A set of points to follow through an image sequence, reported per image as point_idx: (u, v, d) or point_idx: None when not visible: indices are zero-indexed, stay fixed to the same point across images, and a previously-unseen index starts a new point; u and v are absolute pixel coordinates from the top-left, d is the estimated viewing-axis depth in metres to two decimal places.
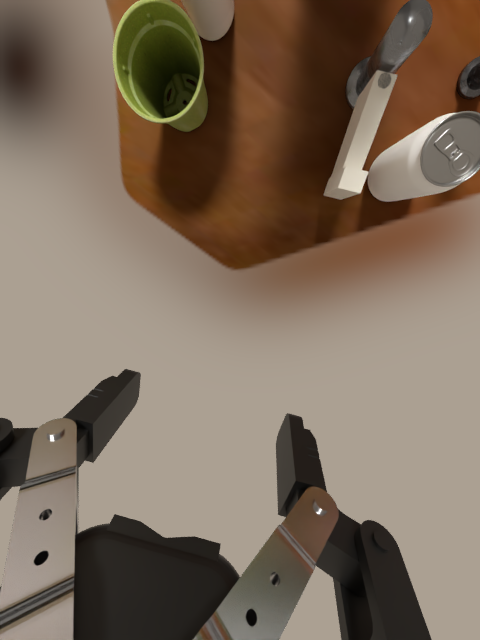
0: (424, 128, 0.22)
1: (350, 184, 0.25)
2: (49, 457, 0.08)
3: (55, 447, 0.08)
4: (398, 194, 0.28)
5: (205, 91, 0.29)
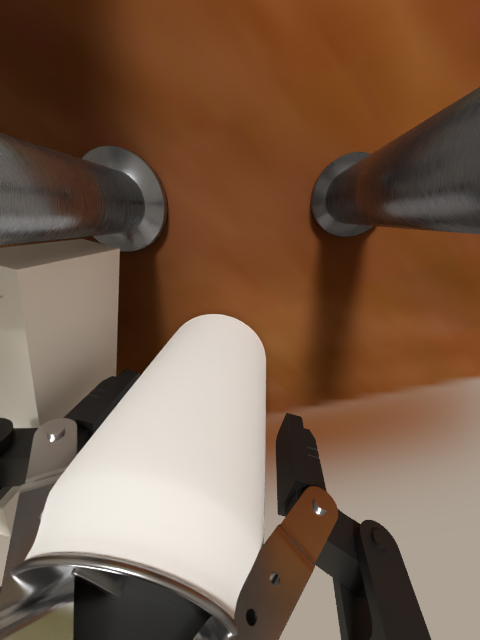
0: (52, 491, 0.06)
1: None
2: (49, 457, 0.08)
3: (55, 447, 0.08)
4: None
5: None
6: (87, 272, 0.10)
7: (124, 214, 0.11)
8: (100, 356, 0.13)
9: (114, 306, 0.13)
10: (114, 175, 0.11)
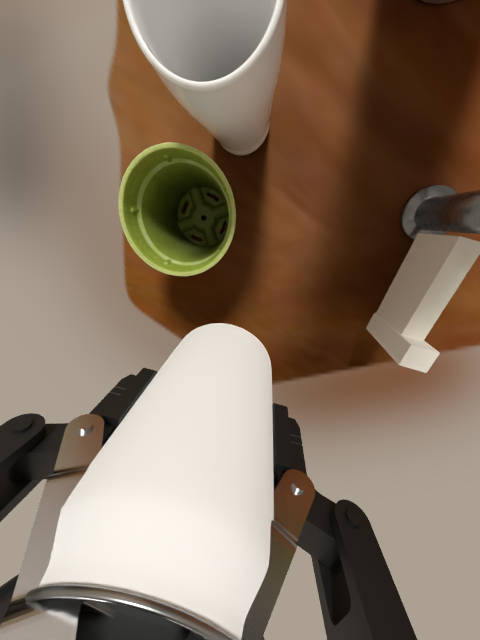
0: (60, 512, 0.06)
1: (415, 363, 0.20)
2: (82, 450, 0.08)
3: (83, 441, 0.08)
4: None
5: None
6: None
7: None
8: None
9: None
10: None
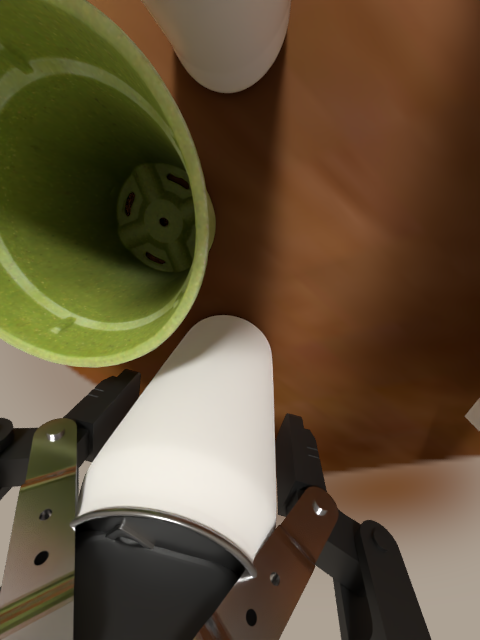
0: (94, 464, 0.07)
1: None
2: (49, 457, 0.08)
3: (55, 446, 0.08)
4: None
5: (210, 220, 0.12)
6: None
7: None
8: None
9: None
10: None
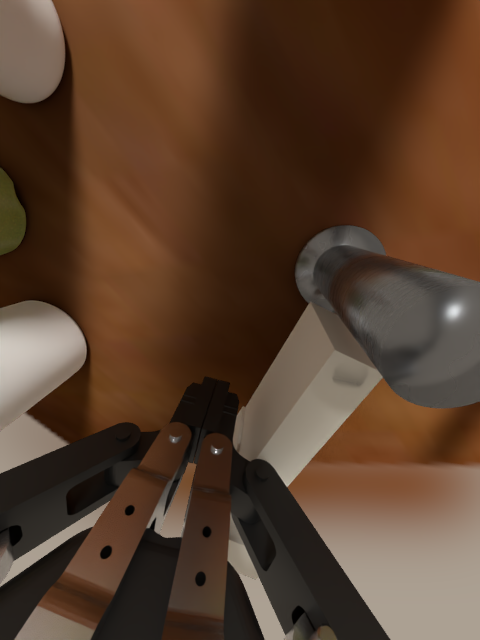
0: None
1: (233, 563, 0.10)
2: (181, 458, 0.09)
3: (168, 448, 0.09)
4: None
5: None
6: None
7: None
8: None
9: None
10: None
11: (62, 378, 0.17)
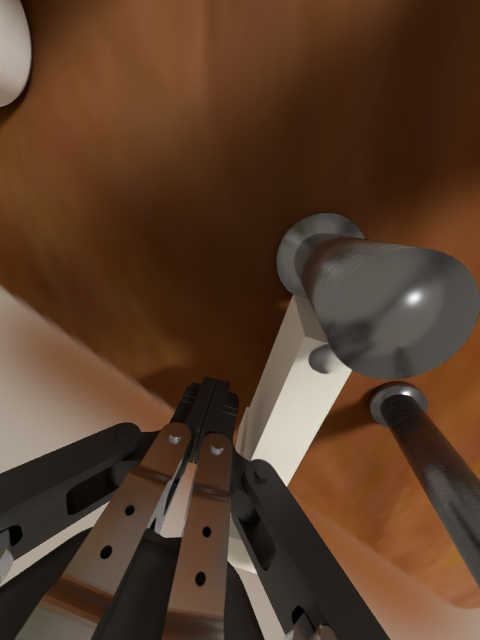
0: None
1: (243, 562, 0.10)
2: (181, 458, 0.09)
3: (169, 448, 0.09)
4: None
5: None
6: None
7: None
8: None
9: None
10: None
11: None
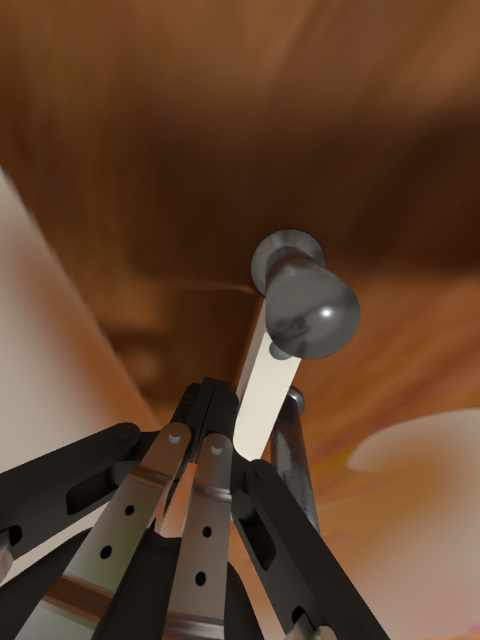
0: None
1: None
2: (180, 458, 0.09)
3: (168, 448, 0.09)
4: None
5: None
6: None
7: None
8: None
9: None
10: None
11: None
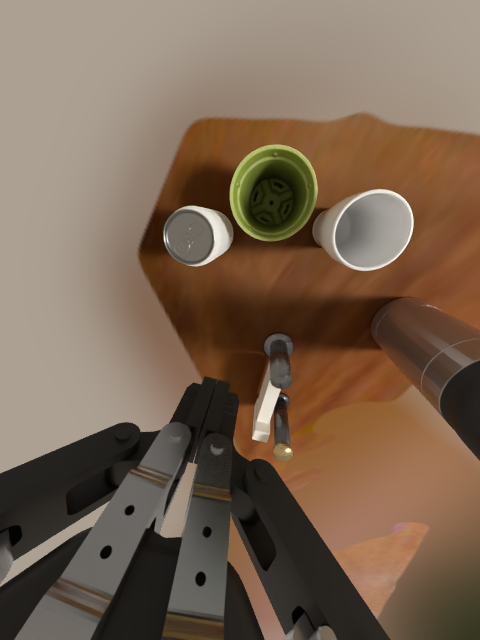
0: (208, 213, 0.26)
1: (259, 438, 0.38)
2: (180, 458, 0.09)
3: (168, 448, 0.09)
4: None
5: (272, 228, 0.33)
6: None
7: None
8: None
9: None
10: None
11: None
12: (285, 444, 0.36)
